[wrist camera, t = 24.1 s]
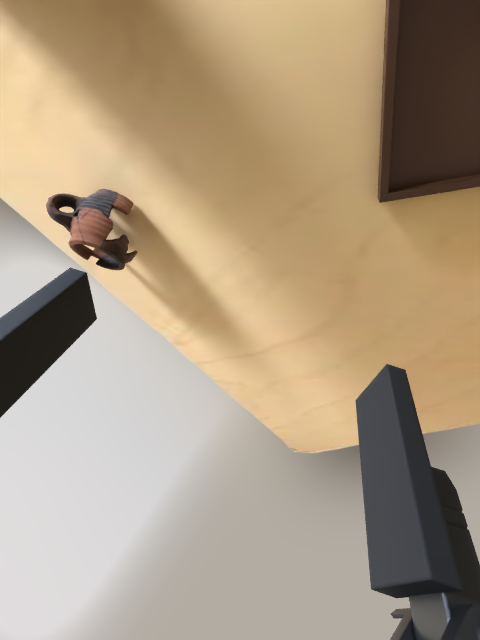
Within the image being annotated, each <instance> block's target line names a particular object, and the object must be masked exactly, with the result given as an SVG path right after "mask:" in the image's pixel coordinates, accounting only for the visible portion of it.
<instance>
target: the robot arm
mask: <svg viewBox="0 0 480 640" xmlns="http://www.w3.org/2000/svg"><path fill="white" fill-rule="evenodd" d="M96 319H97V318H96V313H95V309H94V304H93V299H92V295H91V290H90V286H89V281H88V276H87V273H86V272H83V271H79V270H76V269H73V268H69V269H68V270H66V271H65V272H64V273H63V274H61V275H59V276H58V277H57V278H55V279H54V280H53V281H51V282H50V283H48V284H47V285H46V286H44V287H43V288H42V289H40V290H39V291H37V292H36V293H34V294H33V295H32V296H30V297H29V298H27V299H26V300H25V301H23V302H22V303H21V304H19V305H18V306H16V307H15V308H14V309H12V310H11V311H9V312H8V313H7V314H5V315H4V316H2V317H1V318H0V417H1V416H2V415H3V414H4V413H5V412H6V411H7V410H8V409H9V408H10V407H11V406H12V405H13V404H14V403H15V402H16V401H17V400H18V399H19V398H20V397H21V396H22V395H23V394H24V393H25V392H26V391H27V390H28V389H29V388H30V387H31V386H32V385H33V384H34V383H35V382H36V381H37V380H38V379H39V378H40V376H42V374H44V373H45V371H46V370H47V369H48V368H49V367H50V366H51V365H52V364H53V363H54V362H55V361H56V360H57V359H58V358H59V357H60V356H61V355H62V354H63V353H64V352H65V351H66V350H67V349H68V348H69V347H70V346H71V345H72V344H73V343H74V342H75V341H76V340H77V339H78V338H79V337H80V336H81V335H82V334H83V333H84V332H85V330H87V329H88V328H89V326H91V325H92V323H93V322H94V321H95V320H96ZM356 410H357V423H358V435H359V447H360V458H361V471H362V484H363V495H364V508H365V520H366V531H367V544H368V557H369V569H370V581H371V589H372V590H375V591H378V592H380V593H383V594H386V595H389V596H392V597H395V598H403V597H409V601H410V607H411V608H407V609H396V610H395V611H393V612H392V613H391V615H392V616H393V618H402V620H401V622H400V623H399V625H398V627H397V628H396V630H395V632H394V634H393V636H392V637H391V639H390V640H480V564H479V561H478V558H477V555H476V552H475V549H474V545H473V542H472V539H471V535H470V532H469V530H467V523H466V519H465V516H464V514H463V513H462V507H461V504H460V500H459V497H458V494H457V491H456V489H455V487H454V485H453V484H452V482H451V480H450V479H449V477H448V476H447V474H446V472H445V471H443V470H440V469H437V468H433V467H431V466H430V461H429V458H428V454H427V450H426V446H425V442H424V439H423V435H422V431H421V427H420V423H419V420H418V416H417V412H416V408H415V404H414V401H413V397H412V393H411V389H410V385H409V382H408V378H407V374H406V370H404V369H401V368H398V367H395V366H391V365H388V364H386V365H385V367H384V368H383V369H382V370H381V371H380V372H379V374H378V375H377V376H376V377H375V378H374V380H373V381H372V382H371V383H370V384H369V385H368V387H367V388H366V389H365V390H364V391H363V392H362V394H361V395H360V396H359V397H358V398H357V399H356Z"/></svg>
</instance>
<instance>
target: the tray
mask: <svg viewBox="0 0 480 640" xmlns="http://www.w3.org/2000/svg"><path fill="white" fill-rule="evenodd" d="M474 187H480V0H386V15H385V38H384V61H383V85H382V108H381V132H380V155H379V178H378V200H379V202H380V203H381V202H387V201H393V200H399V199H405V198H412V197H418V196H424V195H430V194H436V193H443V192H449V191H455V190H461V189H468V188H474Z"/></svg>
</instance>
